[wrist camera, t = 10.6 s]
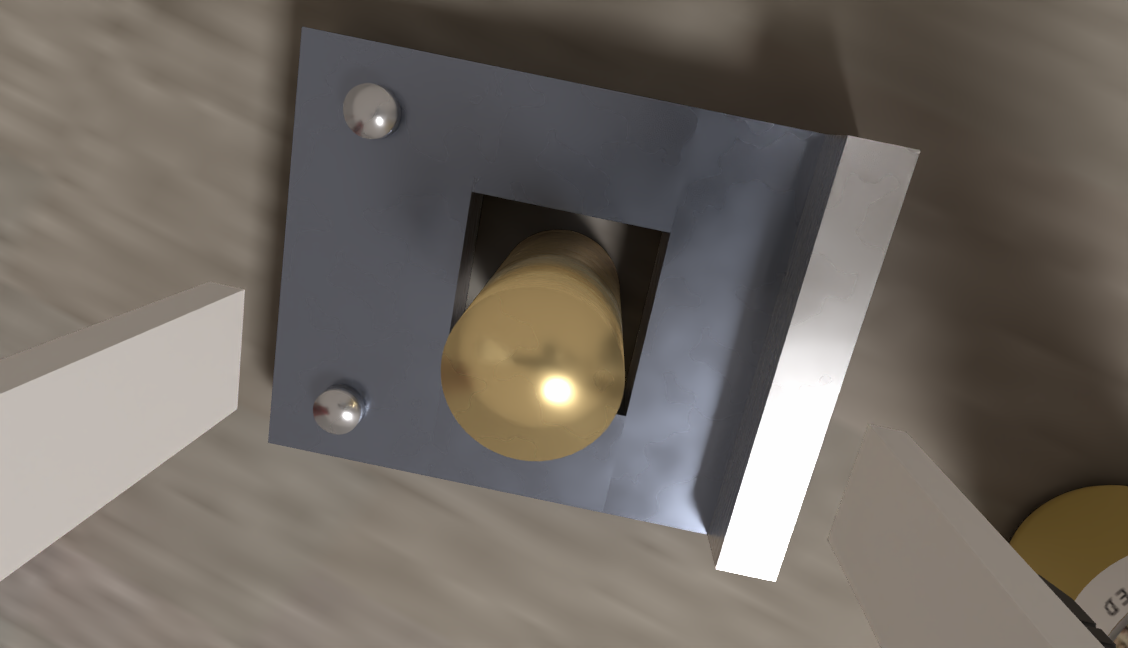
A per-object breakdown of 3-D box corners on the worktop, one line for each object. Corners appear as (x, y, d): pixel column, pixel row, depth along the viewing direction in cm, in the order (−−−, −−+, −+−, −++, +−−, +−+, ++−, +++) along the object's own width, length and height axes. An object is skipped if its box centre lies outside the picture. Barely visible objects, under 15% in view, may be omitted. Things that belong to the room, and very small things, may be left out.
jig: (862, 145, 23) (920, 150, 19) (748, 508, 27) (775, 581, 23) (334, 37, 23) (270, 16, 19) (298, 414, 27) (239, 469, 23)
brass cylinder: (631, 243, 24) (643, 308, 16) (605, 358, 26) (603, 477, 17) (509, 218, 24) (454, 269, 16) (489, 334, 26) (429, 441, 17)
